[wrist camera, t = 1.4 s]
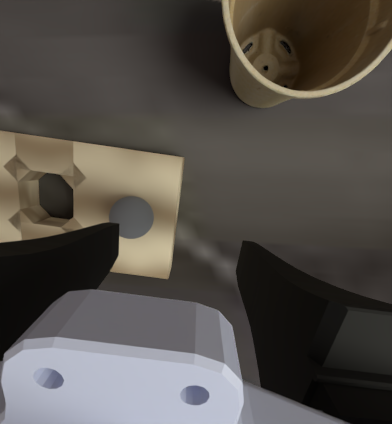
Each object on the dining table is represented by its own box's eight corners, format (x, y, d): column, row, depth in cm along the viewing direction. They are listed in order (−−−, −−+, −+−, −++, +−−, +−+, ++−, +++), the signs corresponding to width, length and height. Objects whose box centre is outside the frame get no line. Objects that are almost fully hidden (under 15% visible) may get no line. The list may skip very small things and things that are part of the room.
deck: (171, 267, 22) (168, 278, 20) (18, 247, 22) (-3, 256, 20) (184, 158, 20) (182, 157, 17) (10, 132, 19) (-16, 128, 17)
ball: (155, 233, 19) (146, 248, 15) (117, 228, 19) (99, 242, 15) (159, 196, 18) (150, 203, 15) (119, 190, 18) (101, 196, 15)
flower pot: (194, 103, 19) (192, 53, 10) (236, -13, 16) (277, -198, 8) (284, 142, 19) (352, 125, 11) (335, 35, 17) (467, -87, 9)
